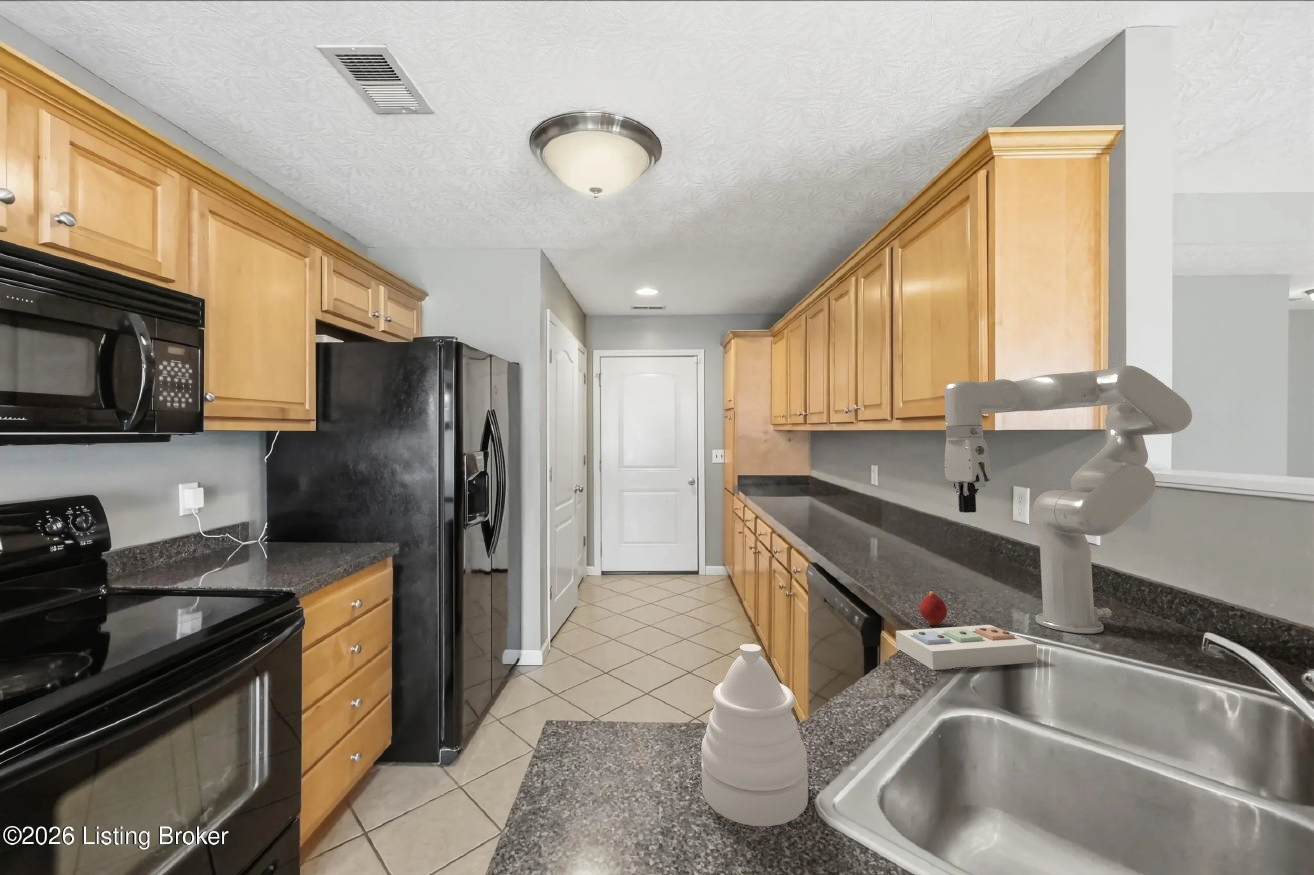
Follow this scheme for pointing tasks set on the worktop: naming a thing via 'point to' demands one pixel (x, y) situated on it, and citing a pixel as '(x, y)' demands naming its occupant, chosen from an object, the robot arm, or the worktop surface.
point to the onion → (933, 609)
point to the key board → (966, 650)
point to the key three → (994, 633)
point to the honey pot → (754, 747)
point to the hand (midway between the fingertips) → (967, 511)
